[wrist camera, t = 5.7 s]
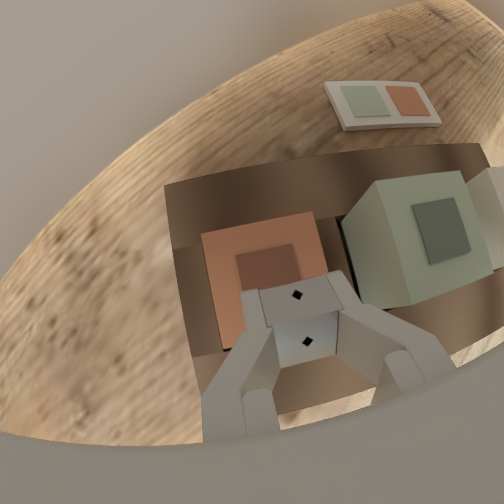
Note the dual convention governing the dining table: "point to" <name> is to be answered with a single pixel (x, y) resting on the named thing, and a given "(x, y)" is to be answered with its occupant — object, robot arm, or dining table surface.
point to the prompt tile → (381, 105)
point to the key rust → (258, 263)
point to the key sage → (415, 239)
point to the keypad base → (334, 248)
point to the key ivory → (490, 210)
